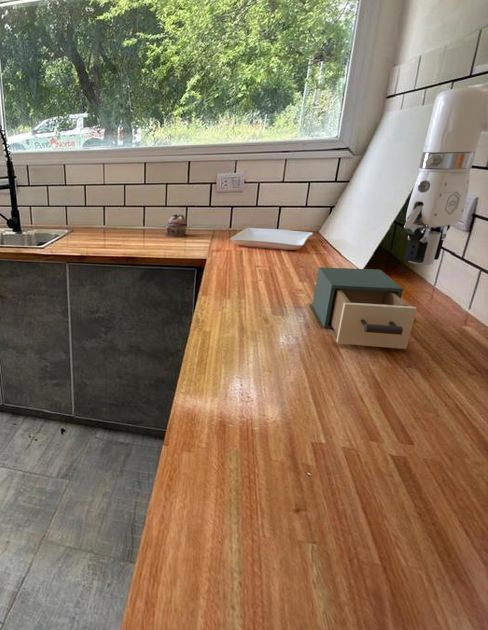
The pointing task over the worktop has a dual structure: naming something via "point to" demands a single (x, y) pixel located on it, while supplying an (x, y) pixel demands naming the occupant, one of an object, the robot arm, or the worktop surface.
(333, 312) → the drawer
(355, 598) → the worktop surface
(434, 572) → the worktop surface
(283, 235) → the square plate
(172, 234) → the cupcake
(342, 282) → the cabinet
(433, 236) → the steel cylinder
